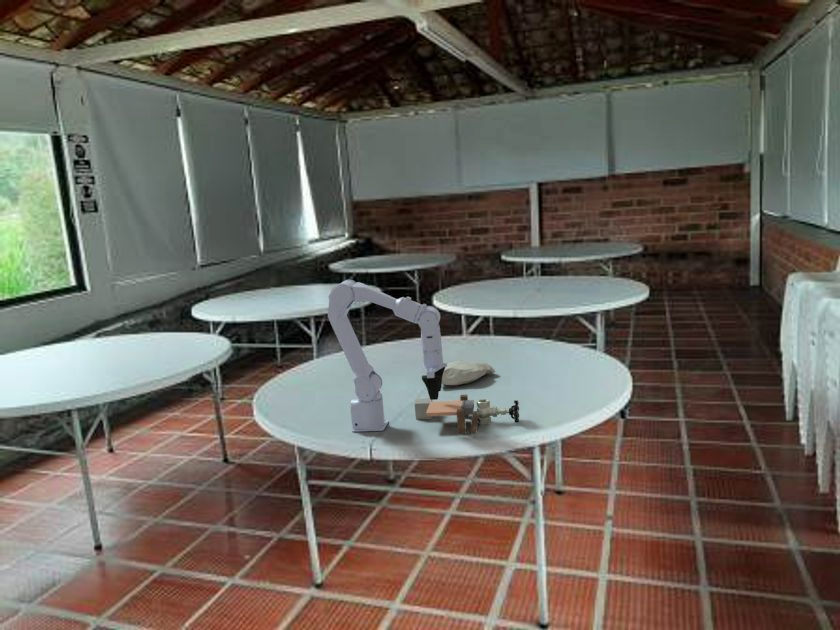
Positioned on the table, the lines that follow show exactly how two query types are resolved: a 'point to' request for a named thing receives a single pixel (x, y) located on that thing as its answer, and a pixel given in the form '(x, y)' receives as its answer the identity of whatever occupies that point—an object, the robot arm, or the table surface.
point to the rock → (464, 372)
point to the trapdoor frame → (461, 419)
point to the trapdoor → (450, 408)
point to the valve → (494, 411)
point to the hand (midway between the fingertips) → (435, 395)
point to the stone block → (422, 408)
